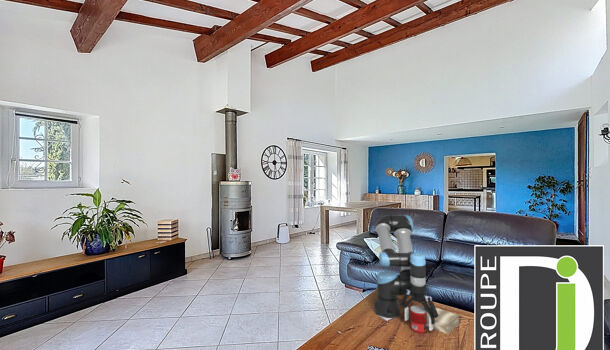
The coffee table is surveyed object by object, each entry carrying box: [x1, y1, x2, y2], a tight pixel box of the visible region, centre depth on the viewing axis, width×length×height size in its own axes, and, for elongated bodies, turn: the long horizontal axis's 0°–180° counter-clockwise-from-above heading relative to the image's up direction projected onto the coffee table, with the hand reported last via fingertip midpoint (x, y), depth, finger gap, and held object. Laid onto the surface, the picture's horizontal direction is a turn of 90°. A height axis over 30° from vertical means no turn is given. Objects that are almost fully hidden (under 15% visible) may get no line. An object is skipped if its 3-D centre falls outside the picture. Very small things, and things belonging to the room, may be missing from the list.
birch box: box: [427, 306, 460, 335], centre depth 154 cm, size 14×14×5 cm
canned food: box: [409, 305, 428, 334], centre depth 149 cm, size 8×8×11 cm
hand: (418, 324), depth 149 cm, fingers open, 13 cm apart
